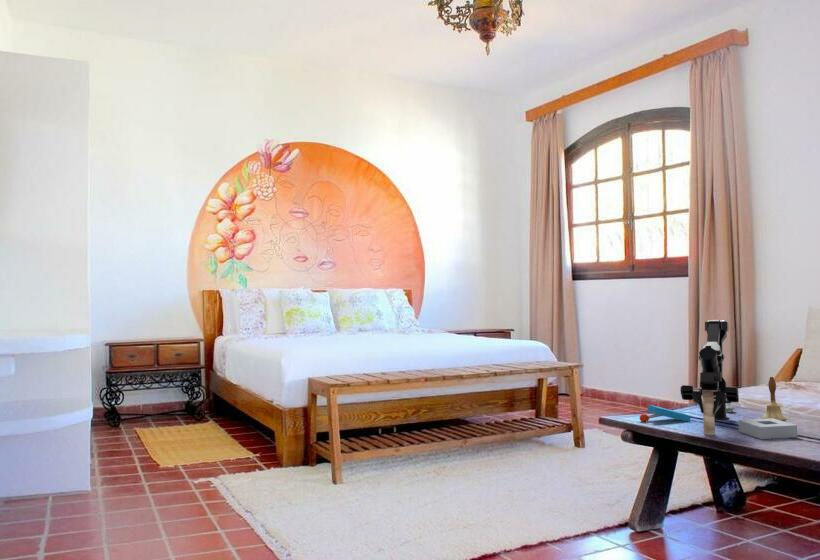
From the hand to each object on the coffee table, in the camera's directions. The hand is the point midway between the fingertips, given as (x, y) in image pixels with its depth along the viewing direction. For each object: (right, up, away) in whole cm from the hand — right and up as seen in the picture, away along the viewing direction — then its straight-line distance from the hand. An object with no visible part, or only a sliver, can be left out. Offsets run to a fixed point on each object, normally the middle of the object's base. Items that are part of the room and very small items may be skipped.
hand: (708, 413), depth 240 cm
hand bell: (+36, -7, +25) cm, 44 cm away
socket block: (+20, -7, -2) cm, 21 cm away
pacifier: (+26, -8, +43) cm, 51 cm away
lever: (-5, -9, +27) cm, 29 cm away
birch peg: (+1, -8, +1) cm, 8 cm away
